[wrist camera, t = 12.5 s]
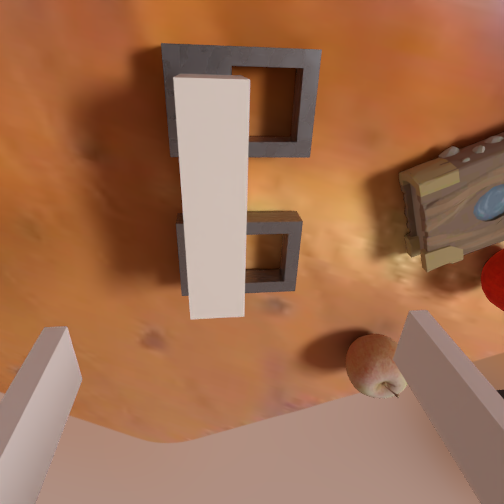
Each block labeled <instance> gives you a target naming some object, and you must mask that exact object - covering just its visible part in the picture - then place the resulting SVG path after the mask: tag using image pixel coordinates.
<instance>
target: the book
mask: <svg viewBox="0 0 504 504" xmlns="http://www.w3.org/2000/svg"><path fill="white" fill-rule="evenodd" d="M399 183H400V185H401V191H402V192H404V193H405V194H404V202H405V204H406V208H405V215H406V217H407V218H408V223H407V227H408V229H409V230H410V233H409V234H408V235H406V236H405V242H406V249H407V253H408V254H409V255H410V256H411V257H414V256H417V255H419V254H421V261H422V268H423V269H424V270H425V271H426V272H429V271H431V270H433V269H436V268H438V267H440V266H443V265H446V264H448V263H452V264H453V263H456V262H458V261H461V260H463V255H466V254H468V253H471V252H474V251H476V250H479V249H482V248H485V247H487V246H490V245H493V244H496V243H499V242H502V241H504V132H502V133H500V134H497V135H495V136H491V137H490V138H487V139H484V140H482V141H479V142H477V143H474V144H472V145H469V146H466V147H464V148H461V149H458V148H457V147H454V146H451V147H450V148H448V149H446V150H445V151H443V152H442V153H441V154H440V155H439V158H436V159H433V160H430V161H427V162H425V163H422V164H420V165H417V166H415V167H412V168H410V169H407V170H405V171H402V172H400V173H399Z"/></svg>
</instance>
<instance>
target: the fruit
mask: <svg viewBox="0 0 504 504" xmlns="http://www.w3.org/2000/svg"><path fill="white" fill-rule="evenodd" d="M397 345H398V344H397V343H396V342H395V341H394V340H392V339H391V338H389V337H387V336H384V335H380V334H370V335H365V336H362V337H359V338H357V339H356V340H355V341H354V342H353V343H352V344H351V345H350V347H349V349H348V352H347V355H346V371H347V374H348V377H349V379H350V381H351V383H352V384H353V386H354V387H355V388H356V389H357V390H358V391H359V392H361V393H362V394H364V395H367V396H370V397H373V398H390V397H393V396H396V397H398V398H399V395H398V394H399V393H400V392H402V391H403V390H404V389H405V387H406V386H407V382H406V380H405V379H404V377H403V375H402V374H401V372H400V371H399V369H398V367H397V366H396V364H395V362H394V361H393V357H394V354H395V351H396V348H397Z"/></svg>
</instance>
